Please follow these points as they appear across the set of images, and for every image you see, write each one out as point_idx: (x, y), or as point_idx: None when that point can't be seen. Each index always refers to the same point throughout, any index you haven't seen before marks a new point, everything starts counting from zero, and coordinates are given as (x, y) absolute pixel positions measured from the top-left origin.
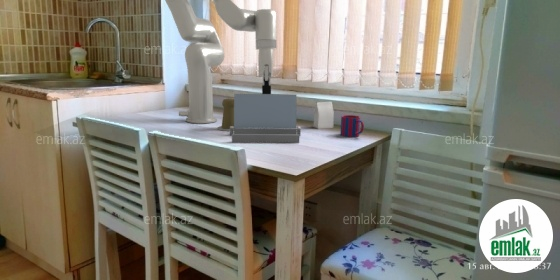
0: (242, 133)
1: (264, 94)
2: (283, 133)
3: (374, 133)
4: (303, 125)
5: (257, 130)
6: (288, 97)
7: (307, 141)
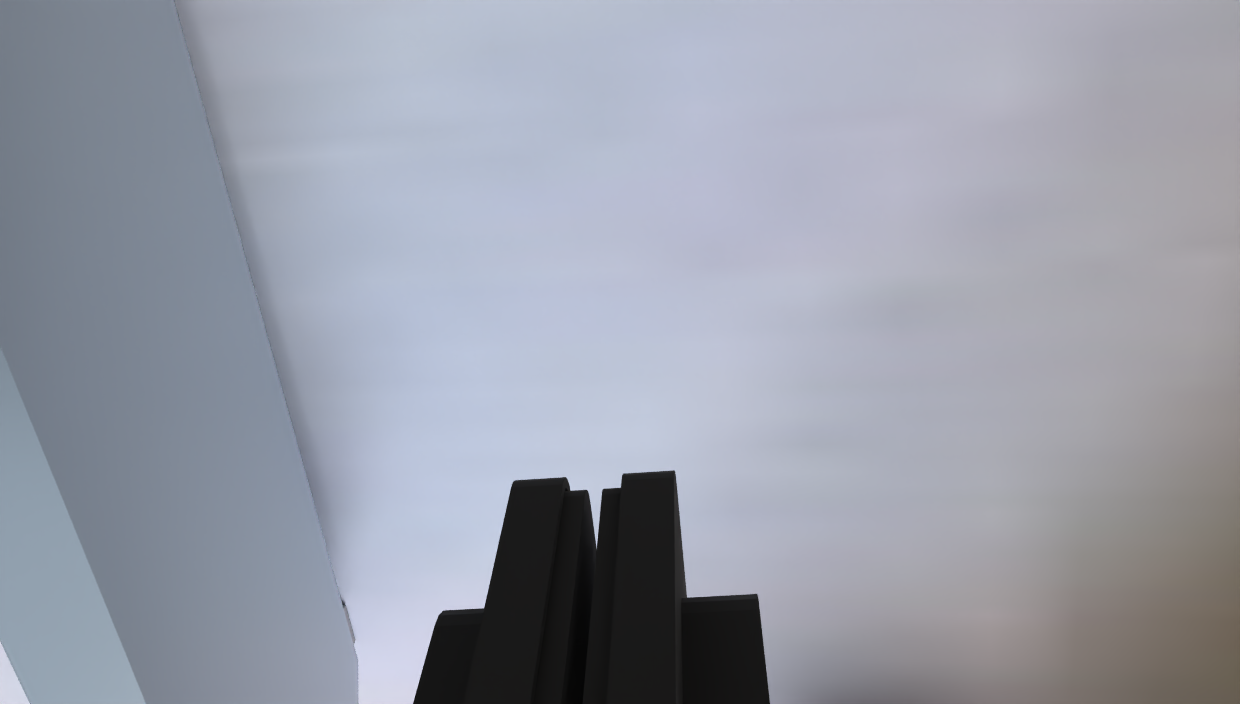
0: None
1: (11, 640)
2: None
3: None
4: (1075, 701)
5: None
6: None
7: (20, 696)
